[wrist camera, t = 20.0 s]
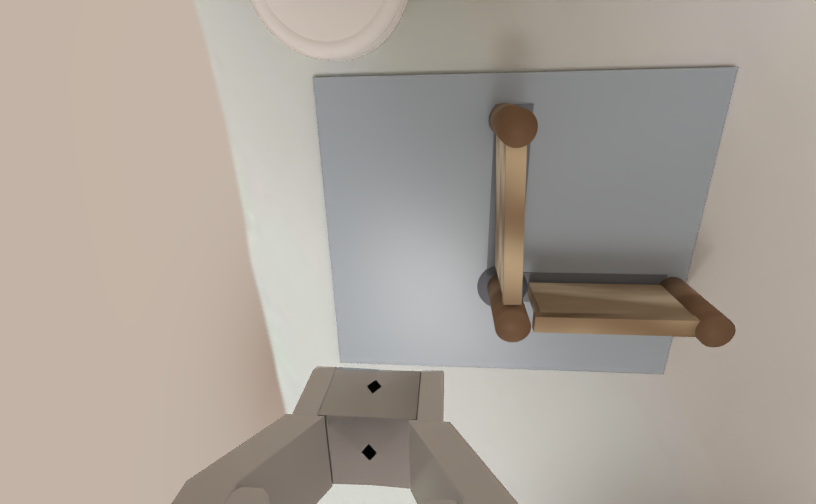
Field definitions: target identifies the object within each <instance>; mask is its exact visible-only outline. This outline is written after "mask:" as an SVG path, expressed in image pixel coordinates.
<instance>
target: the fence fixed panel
mask: <svg viewBox="0 0 816 504" xmlns="http://www.w3.org/2000/svg"><path fill="white" fill-rule="evenodd" d="M487 290H488V295H489V300H490V306H491V311H492V316H493V321H494V326H495V331H496V334H497V335H498V337H499V338H501V339H502V340H504V341H506V342H519V341H521V340H523V339H525V338H526V337H527V336H528V335H529V333H530V331H531V322H530V319H529V317H528V314H527V311H526V308H525V305H524V302H523V299H522V305H503V301H502V290H501V286H500V282H499V279H498V275H495V276H493V277H492V278H491V279H490V280H489V282H488V285H487ZM528 299H529V301H530V304H531V307H532V309H533V321H532V329H533V332H540V333H575V334H611V335H646V336H681V337H696V338H697V339H698V340H699V341H700V342H701V343H702V344H704V345H705V346H708V347H719V346H722V345H725V344H726V343H728V342H729V341H730V340H731V339H732V338H733V336H734V334H735V326H734V324H733V323H732V322H731V321H730V320H729V319H728V318H727V317H725V316H724V315H723V314H722V313H721V312H720V311H718V310H717V309H716V308H715V307H714V306H712V305H711V304H710V303H709V302H708V301H706V300H705V299H704V298H703V297H702V296H701V295H699V294H698V293H697V292H696V291H695V290H693V289H692V288H691V287H690V286H689V285H687V284H686V283H685V282H684V281H683V280H681V279H680V278H677V277H669V278H667V279H665V280H663V281H662V282H661V283H660V284H659V285H643V284H588V283H532V282H529V285H528Z"/></svg>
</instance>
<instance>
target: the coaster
mask: <svg viewBox="0 0 816 504" xmlns="http://www.w3.org/2000/svg"><path fill="white" fill-rule="evenodd" d="M407 1H408V0H251V2H252V4H253V6H254V8H255V10H256V12H257V14H258V15H259V17H260V18H261V20H262V21H263V23H264V24H265V25H266V27H267V28H268V29H269V30H270V31H271V33H273V34H274V35H275V36H276V37H277V38H278V39H279V40H280V41H281V42H283V43H284V44H285V45H286V46H288V47H290V48H291V49H293V50H294V51H296V52H298V53H301V54H303V55H305V56H309V57H312V58H316V59H322V60H328V61H347V60H353V59H356V58H359V57H362V56H364V55H366V54H368V53H370V52H371V51H373V50H374V49H376V48H377V47H379V46H380V45H381V44H382V43H383V42H384V41H385V40H386V39H387V38H388V37H389V36H390V34H391V33H392V32H393V31H394V29H395V27H396V26H397V24H398V23H399V21H400V19H401V17H402V15H403V12H404V10H405V7H406V4H407Z"/></svg>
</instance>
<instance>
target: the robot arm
mask: <svg viewBox="0 0 816 504" xmlns="http://www.w3.org/2000/svg"><path fill="white" fill-rule="evenodd" d="M443 412H444V372H443V371H422V372H421V371H393V370H376V369H360V368H343V367H338V368H337V367H320V366H317V367H316V368H315V369H314V370H313V372H312V374H311V376H310V378H309V380H308V382H307V384H306V386H305V389H304V391H303V393H302V395H301V397H300V399H299V401H298V403H297V405H296V407H295V410H294V412H293V414H285V415H284V416H283V417H281V418H280V419H278V420H277V421H275V422H274V423H272V424H271V425H269V426H268V427H266V428H265V429H263V430H262V431H260V432H259V433H257V434H256V435H254V436H253V437H251V438H250V439H248V440H247V441H245V442H244V443H242V444H241V445H239V446H238V447H236V448H235V449H233V450H232V451H230V452H229V453H227V454H226V455H225V456H223V457H221V458H220V459H219V460H217V461H216V462H214V463H213V464H211V465H210V466H208V467H207V468H205V469H204V470H202V471H201V472H199V473H198V474H196V475H195V476H193V477H192V478H190V479H189V480H187V481H186V483H185V484H184V486H183V487H182V489H181V490H180V492H179V493H178V495H177V496H176V498H175V499H174V501H173V502H172V504H317V503H318V501H319V500H320V499H321V498H322V497H323V496H324V495H325V494H326V493H327V491H328V490H329V489H330V488H331V487H332V484H358V485H377V486H388V487H399V488H410V489H411V492H412V494H413V496H414V498H415V500H416V502H417V504H518V503H517V501H516V500H515V499H514V498H513V497H512V496H511V494H510V493H509V492H508V491H507V490H506V488H505V487H504V486H503V485H502V484H501V482H500V481H499V480H498V479H497V478H496V476H495V475H494V474H493V473H492V472H491V470H490V469H489V468H488V467H487V466H486V464H485V463H484V462H483V461H482V460H481V458H480V457H479V456H478V455H477V454H476V453H475V451H474V450H473V449H472V448H471V447H470V445H469V444H468V443H467V442H466V441H465V439H464V438H463V437H462V436H461V435H460V433H459V432H458V431H457V430H456V429H455V427H454V426H453V425H452V424H451V423H450V422H443Z"/></svg>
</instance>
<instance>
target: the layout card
mask: <svg viewBox="0 0 816 504" xmlns="http://www.w3.org/2000/svg"><path fill="white" fill-rule="evenodd" d="M737 70H738V67H716V68H676V69H635V70H594V71H554V72H513V73H473V74H432V75H392V76H351V77H313V82H314V92H315V102H316V113H317V123H318V134H319V144H320V155H321V165H322V175H323V186H324V196H325V207H326V217H327V227H328V238H329V248H330V259H331V269H332V280H333V290H334V300H335V311H336V321H337V332H338V342H339V352H340V363H365V364H393V365H421V366H449V367H477V368H505V369H533V370H561V371H589V372H617V373H645V374H664V370H665V366H666V362H667V357H668V353H669V349H670V345H671V341H672V337H673V336H646V335H611V334H575V333H540V332H533V329H532V321H533V309H532V307H531V304H530V301H529V299H528V285H529V282H532V283H588V284H643V285H659V284H660V283H661V282H662V281H663V280H665V279H667V278H669V277H677V278H680V279H681V280H683V281H684V282H685V283H686V279H687V275H688V271H689V267H690V263H691V259H692V255H693V251H694V247H695V243H696V238H697V234H698V230H699V226H700V222H701V218H702V214H703V210H704V206H705V201H706V197H707V193H708V189H709V185H710V181H711V177H712V173H713V169H714V165H715V160H716V156H717V152H718V148H719V144H720V140H721V136H722V132H723V128H724V123H725V119H726V115H727V111H728V107H729V103H730V99H731V95H732V91H733V87H734V82H735V78H736V74H737ZM501 103H510V104H513V105H516V106H519V107H522V108H525V109H528V110H529V111H531V112H532V113H533V114H534V115H535V117H536V119H537V122H538V130H537V134H536V136H535V138H534V139H533V140H532V142H530V143H529V144H528V145H527V160H526V190H525V221H524V251H523V282H522V299H523V302H524V305H525V308H526V311H527V314H528V317H529V319H530V322H531V331H530V333H529V335H528V336H527V337H526V338H525V339H523V340H521V341H519V342H506V341H504V340H502V339H501V338H499V337H498V335H497V334H496V331H495V326H494V321H493V316H492V311H491V306H490V300H489V295H488V290H487V285H488V282H489V280H490V279H491V278H492V277H493V276H495V275H497V271H496V267H495V232H496V134H495V133H494V132H493V131H492V130H491V128H490V126H489V115H490V113H491V111H492V110H493V108H494V107H496V106H497V105H499V104H501Z"/></svg>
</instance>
